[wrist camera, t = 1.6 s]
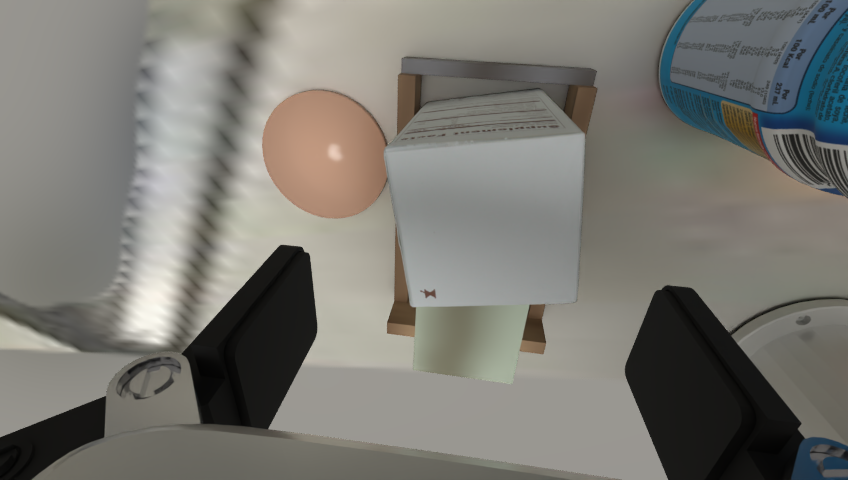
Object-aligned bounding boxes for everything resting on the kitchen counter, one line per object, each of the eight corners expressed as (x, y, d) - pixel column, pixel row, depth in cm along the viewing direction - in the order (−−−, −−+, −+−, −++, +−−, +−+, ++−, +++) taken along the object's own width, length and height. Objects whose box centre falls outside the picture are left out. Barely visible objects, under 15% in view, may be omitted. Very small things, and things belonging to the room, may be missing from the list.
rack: (590, 68, 23) (643, 88, 15) (535, 309, 32) (551, 401, 24) (406, 56, 24) (368, 70, 17) (400, 292, 33) (373, 376, 25)
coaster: (390, 95, 26) (388, 96, 25) (389, 220, 30) (387, 224, 29) (257, 85, 27) (253, 86, 26) (275, 208, 31) (271, 212, 30)
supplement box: (542, 197, 27) (579, 311, 16) (436, 203, 29) (404, 312, 18) (544, 84, 24) (593, 130, 13) (424, 97, 25) (376, 149, 14)
